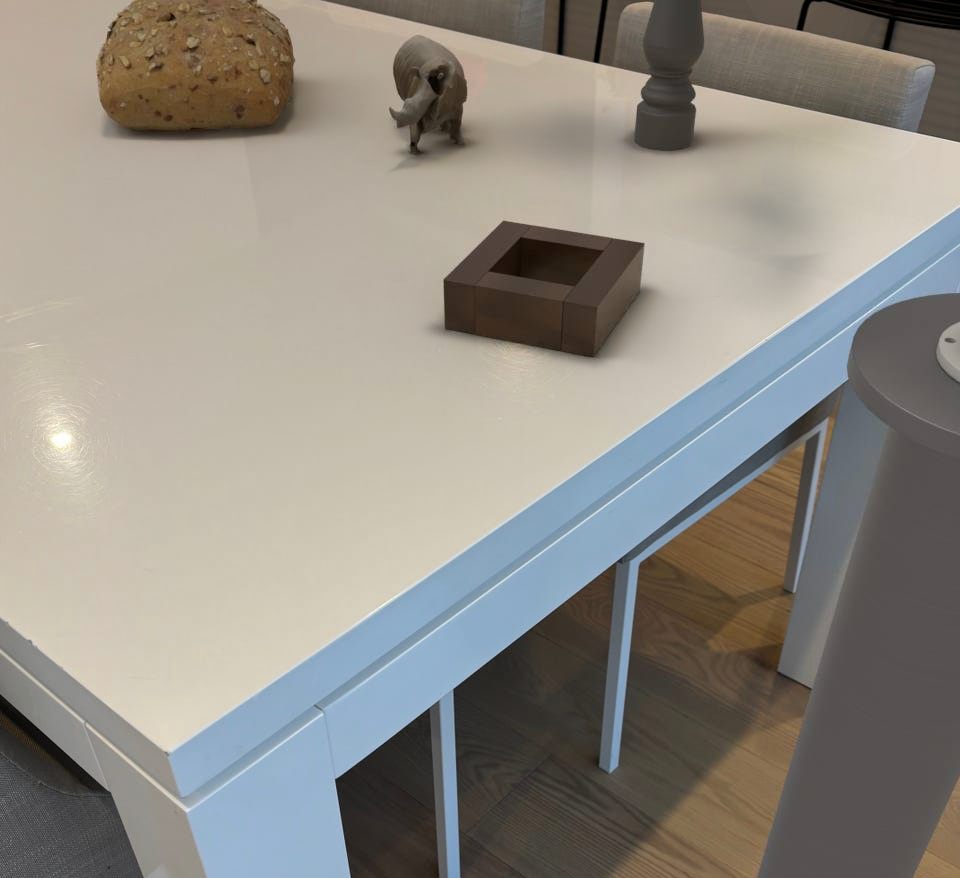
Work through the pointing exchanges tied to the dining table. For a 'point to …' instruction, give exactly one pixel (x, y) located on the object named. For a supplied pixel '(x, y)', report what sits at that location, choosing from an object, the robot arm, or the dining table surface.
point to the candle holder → (670, 75)
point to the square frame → (544, 287)
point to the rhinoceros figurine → (429, 89)
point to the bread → (195, 65)
